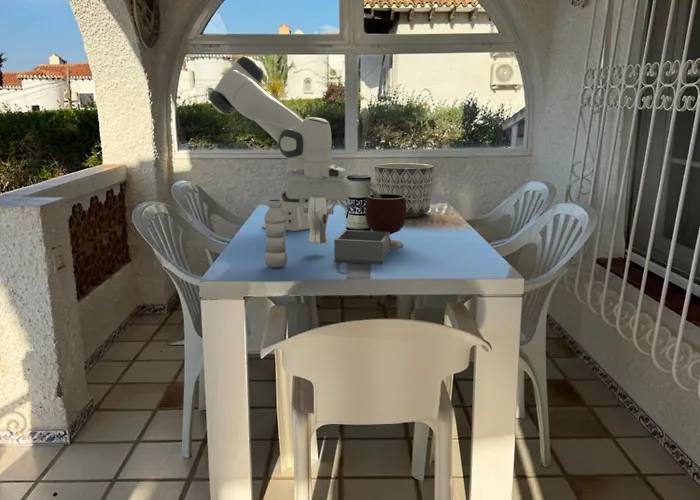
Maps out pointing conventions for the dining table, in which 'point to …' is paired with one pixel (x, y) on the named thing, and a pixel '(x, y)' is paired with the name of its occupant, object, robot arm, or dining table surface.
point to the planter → (407, 184)
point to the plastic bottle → (275, 235)
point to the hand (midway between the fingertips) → (318, 213)
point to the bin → (362, 247)
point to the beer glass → (318, 219)
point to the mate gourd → (386, 214)
